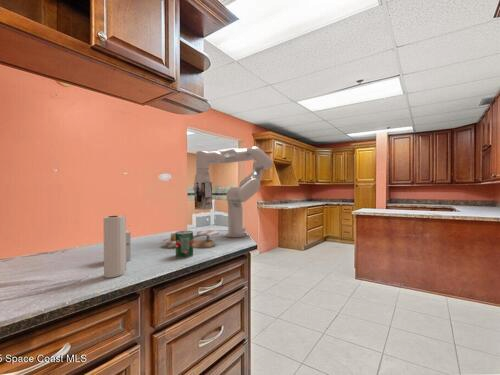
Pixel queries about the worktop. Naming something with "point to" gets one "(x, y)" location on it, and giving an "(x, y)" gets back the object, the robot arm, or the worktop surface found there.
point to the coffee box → (204, 197)
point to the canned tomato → (184, 244)
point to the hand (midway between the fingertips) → (203, 201)
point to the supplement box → (128, 246)
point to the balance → (196, 243)
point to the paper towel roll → (114, 246)
